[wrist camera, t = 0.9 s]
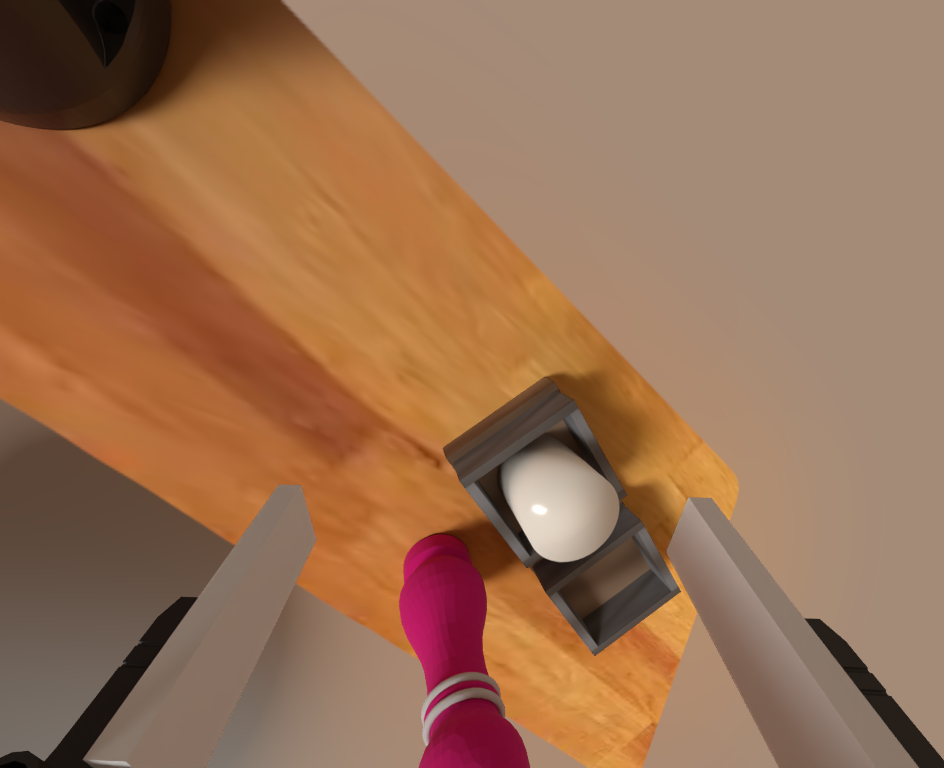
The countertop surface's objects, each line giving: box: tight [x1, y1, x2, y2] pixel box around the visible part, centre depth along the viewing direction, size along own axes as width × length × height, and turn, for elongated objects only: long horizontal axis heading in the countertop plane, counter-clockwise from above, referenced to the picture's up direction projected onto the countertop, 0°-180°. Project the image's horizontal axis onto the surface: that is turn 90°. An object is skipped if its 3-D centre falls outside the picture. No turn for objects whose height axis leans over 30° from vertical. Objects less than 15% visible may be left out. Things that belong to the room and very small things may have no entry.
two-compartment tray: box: [443, 377, 681, 656], centre depth 33 cm, size 26×11×5 cm, turn 32°
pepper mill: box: [399, 534, 530, 768], centre depth 24 cm, size 7×7×20 cm
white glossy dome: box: [497, 434, 619, 562], centre depth 28 cm, size 7×7×7 cm
